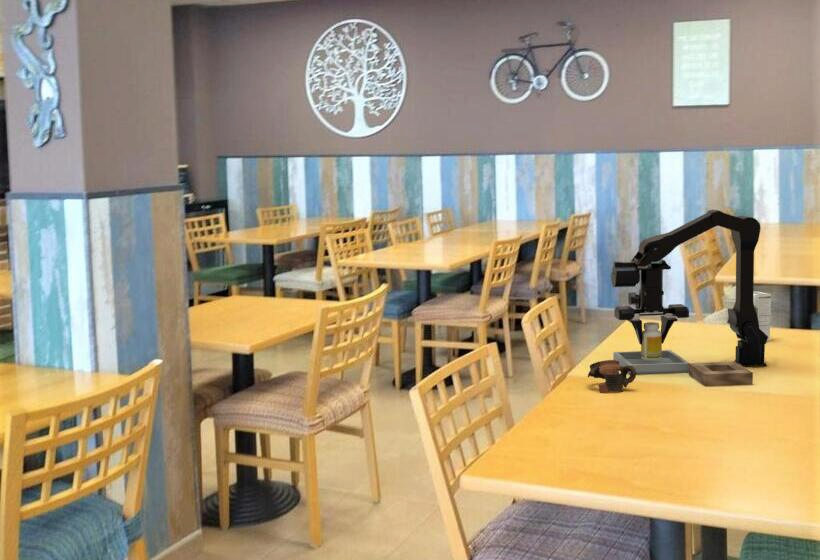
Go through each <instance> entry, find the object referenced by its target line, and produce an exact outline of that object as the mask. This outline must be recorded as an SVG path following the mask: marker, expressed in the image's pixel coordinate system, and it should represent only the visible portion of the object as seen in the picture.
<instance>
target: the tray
mask: <svg viewBox="0 0 820 560" xmlns="http://www.w3.org/2000/svg"><path fill="white" fill-rule="evenodd" d="M612 353H613V356H612V357H613V359H612V360H616V361H619V366H621V367H623V366H633V367H634V368H635V371H636V373H637V374H636V376H637V375H659V374H660V375H661V374H662V375H663V374H689V363H690V362H689V361H687V360H686V359H684V358H683V357H681V356H680V355H679V354H677V353H675V352H674V351H673V350H671V349H665V350H664V349H662V358H661V359H660V360H656V361H649V360H643V359H642V358H641V350H640V351H639V350H637V351H635V350H633V351H632V350H631V351H613V352H612ZM627 375H629V376H630V375H631V372H630V371H629V372H628V373H627Z"/></svg>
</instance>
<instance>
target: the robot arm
mask: <svg viewBox="0 0 820 560" xmlns="http://www.w3.org/2000/svg"><path fill="white" fill-rule="evenodd" d="M715 227H720V228H724V229H727V230H730V235H731V240H732V242H733V245H734V248H735V303H734V305H733V308H727V315H728V318H727V322H726V323H727V324H728V325H729V329H731V331H732V332H734V333H735V335H736V338H737V339H738V340H737V345H736V346H735V359H734V362H736V363H738V364H739V365H741V366H743V367H758V366H759V367H764V366H768V363H767V362H765V354H766V353H765V349H766V344H767V343H768V342H767V339H768V336H767V335H766V334H765V333H764V332H763V331H762V330H760V329H759V322H758V316H757V313H756V310H755V307H754V303H753V292H755V291H754V286H755V285H754V284H755V283H754V280H755V268H754V267H755V261H754V260H755V249H756V246H757V244H758V242H759V241H760V240H759V239H760V234H761V229H762V227H761V223H760V222H759V221H758V220H757V219H756V218H754V217H751V216H748V215H737V216H735V215H731V214H728V213H725V212H723V211H721V210H717V209H710V210H708V211H707V212H706V213H704V214H702V215H700V216H698V217H696V218H694V219H692V220H689V222H686V223H685V224H682V225H681V226H678V227H677V228H675V229H672V230H671V231H669V232H665V233H661V234H657V235H654V236H653V235H652V236H650V237H647V238H644V239H643V240H642V241H641V242H640V243H639V245H638V251H637V252H636V254H635V255H634V256H633V258H632V259H631V261H613V265H612V269H611V273H610V276H611V277H610V280H611V285H612V287H613V288H631V287H632V288H634V287H636V286H637V285H638V284H639V283H640V288H639V290H638V294H637V291H636V292H635V291H632V292H628V295H627V303H628V305H624V306H623V305H622V306H616V307H615V308H614V312H613V313H614V317H615V318H616V319H617V320H619V321H627V322H629V323H630V324H631V325H632V327H633V329H634V331H635V335H636V337H637V340H638V343H639V345H640V346H641V344H642V331H643V321H642V319H640V318H641V317H646V316H660V321H661V324H660V325H661V326H660V332H661V334H662V344H664V342H665V340H666V338H667V336H668V334H669V331H670V329H671V328H672V326H673V324H674V323H675V322H678V319H684V318H685V319H686V318H690V309H689V308H688V307H687V306H686V305H684V304H681V303H677V304H676V303H675V304H674V303H673V304H668V306H667V307H665V306H664V305H663V302H664V301H663V297H664V295H665V293H664V292H665V291H664V290H663V289H664V287H663V286H664V285H663V284H664V282H663V278H664V270H671V269H672V267H671V266H670V265H669V264H668V263H667V261H666V260H664V258H665V257H667V256H668V255H670V254H671V253H672V252H673V251H674V250H675V249H676V248H677V247H679V246H680V245H682V244H684V243H685V242H688V241H690V240H692V239H694V238H696V237H697V236H699V235H702V234H703V233H706V232H707V231H709V230H711V229H714V228H715ZM631 306H635V308H633V307H631Z"/></svg>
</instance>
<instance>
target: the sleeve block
mask: <svg viewBox="0 0 820 560" xmlns="http://www.w3.org/2000/svg"><path fill="white" fill-rule="evenodd" d="M688 376H690V377H691V378H693V379H694V380H696V382H698V383H700V384H701V385H702V386H704V387H721V386H743V385H744V386H749V385H754V384H753V379H754V372H752V371H751V370H749V368H746V367H745V366H742V365H740V364H739V363H737V362H735V361H718V362H717V361H715V362H714V361H711V362H689V373H688Z"/></svg>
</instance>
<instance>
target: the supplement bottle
mask: <svg viewBox="0 0 820 560" xmlns="http://www.w3.org/2000/svg"><path fill="white" fill-rule="evenodd" d="M643 329H644V330H642V344H641V345H640V351H641V358H642V359H643V360H649V361H656V360H660V359H661V358H662V350H663V349H662V348H663V347H662V346H663V345H662V334H661V330H659V329H660V323H659V322H655V321H654V322H653V321H650V322H649V321H647V322H644V323H643Z"/></svg>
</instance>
